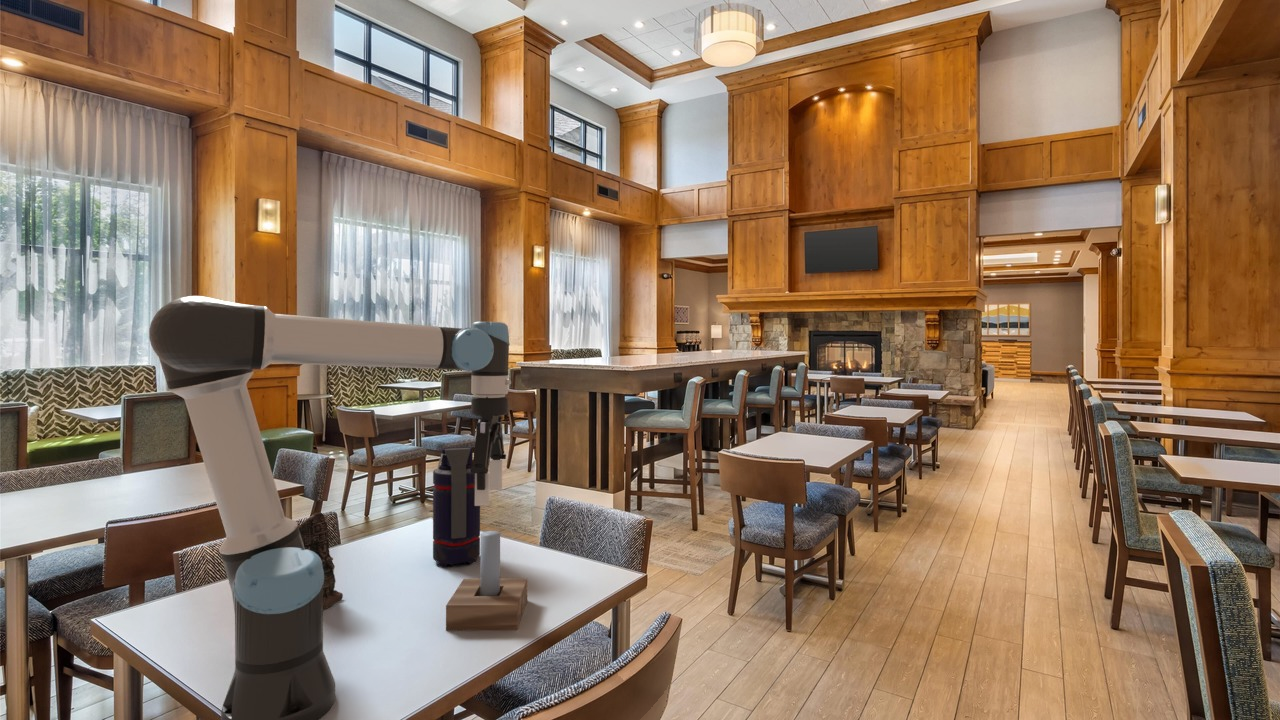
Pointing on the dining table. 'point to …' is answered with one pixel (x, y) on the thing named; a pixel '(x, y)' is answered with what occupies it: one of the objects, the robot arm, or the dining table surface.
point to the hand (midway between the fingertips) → (489, 497)
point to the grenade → (455, 508)
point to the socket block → (487, 606)
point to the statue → (321, 554)
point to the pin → (490, 564)
